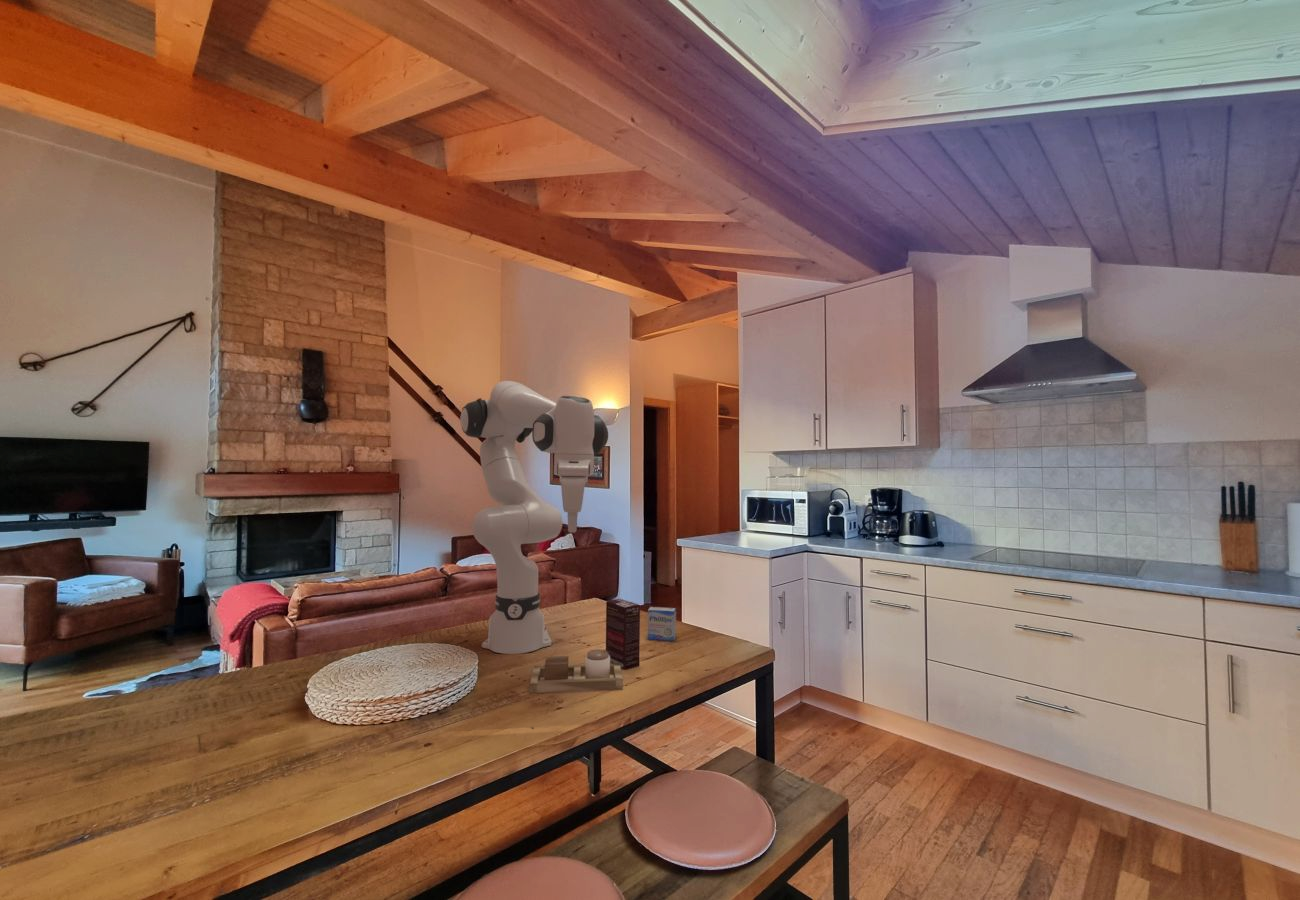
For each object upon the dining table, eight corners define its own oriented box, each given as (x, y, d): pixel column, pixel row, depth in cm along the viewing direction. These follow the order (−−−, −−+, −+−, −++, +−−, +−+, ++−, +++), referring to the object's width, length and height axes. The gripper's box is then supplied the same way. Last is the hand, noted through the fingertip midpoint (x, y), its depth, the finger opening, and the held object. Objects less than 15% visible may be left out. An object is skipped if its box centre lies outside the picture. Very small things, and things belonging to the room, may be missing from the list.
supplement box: (640, 669, 130) (641, 604, 130) (624, 674, 127) (625, 607, 127) (619, 659, 136) (620, 597, 137) (604, 663, 133) (605, 600, 134)
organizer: (534, 679, 123) (534, 666, 123) (619, 676, 125) (619, 663, 126) (529, 697, 113) (529, 683, 113) (622, 693, 115) (622, 680, 116)
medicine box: (647, 640, 152) (647, 609, 153) (649, 635, 157) (650, 605, 157) (674, 641, 151) (674, 611, 151) (676, 637, 155) (676, 607, 156)
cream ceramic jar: (585, 676, 122) (585, 649, 123) (609, 675, 123) (609, 648, 123) (585, 686, 117) (585, 657, 117) (610, 685, 117) (610, 656, 118)
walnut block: (546, 678, 121) (546, 656, 121) (568, 677, 122) (568, 655, 122) (544, 687, 116) (544, 664, 116) (567, 686, 117) (567, 663, 117)
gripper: (561, 467, 128) (560, 524, 128) (557, 467, 108) (556, 535, 108) (587, 467, 129) (586, 524, 129) (588, 468, 109) (587, 535, 108)
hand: (572, 529), depth 118 cm, fingers open, 8 cm apart
